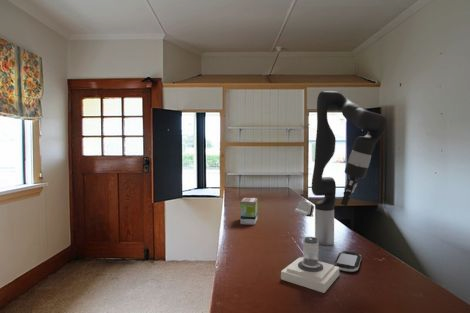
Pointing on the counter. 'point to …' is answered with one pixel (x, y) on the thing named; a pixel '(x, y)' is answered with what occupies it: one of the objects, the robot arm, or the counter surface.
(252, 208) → the tea box
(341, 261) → the gaming console
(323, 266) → the stand
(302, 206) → the hinge
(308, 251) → the knob
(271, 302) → the counter surface
